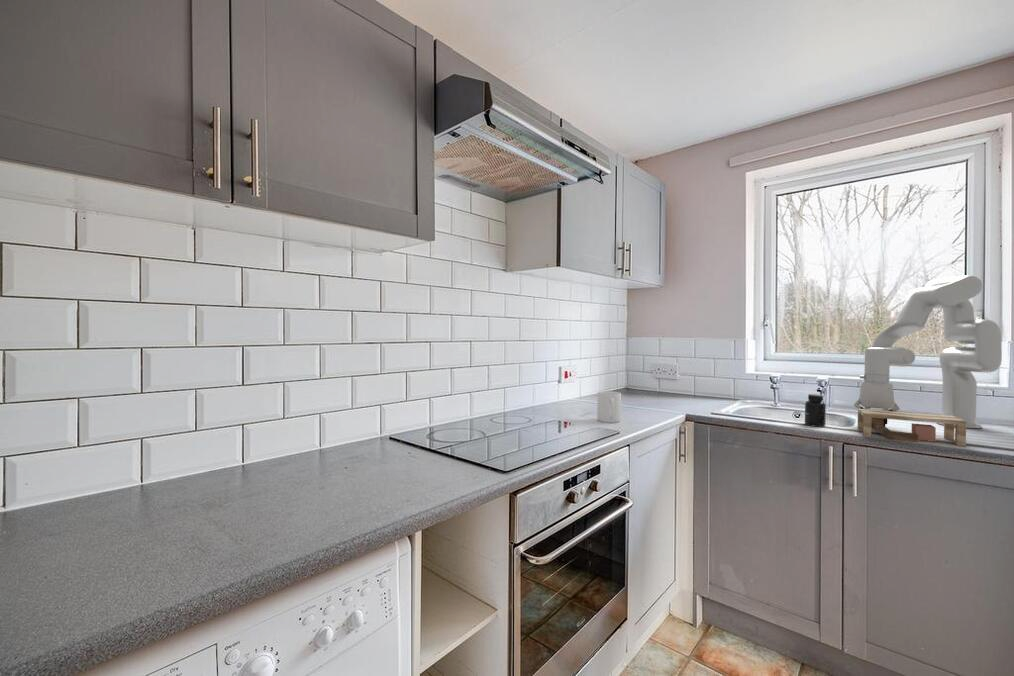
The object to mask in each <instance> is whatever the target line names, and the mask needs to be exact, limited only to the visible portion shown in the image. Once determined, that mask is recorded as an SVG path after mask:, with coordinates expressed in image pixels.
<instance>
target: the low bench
mask: <svg viewBox="0 0 1014 676" xmlns="http://www.w3.org/2000/svg"><path fill="white" fill-rule="evenodd" d="M871 417H873V418H885V419H887V420H898V421H911V422H913V421H914V422H922V423H923V422H924V423H936V424H938V423H944V425H943V430H944V431H943V438H944V439H945V438H946V439H945V440H948V439H953V440H952V441H954V445H956V446H957V447H967V428H966V421H964V420H962V419H959V418H957V417H955V416H952V415H942V414H937V413H936V414H935V413H923V412H921V413H920V412H910V411H899V410H897V411H884V410H881V409H871V408H870V409H858V408H857V431H858V432H862V436H863V437H866V438H867V437H868V438H871V437H872V427H871ZM954 424H955V427H954Z"/></svg>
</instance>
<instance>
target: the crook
mask: <svg viewBox="0 0 1014 676" xmlns="http://www.w3.org/2000/svg"><path fill="white" fill-rule="evenodd" d="M871 428H873V429H875V430H876V431H877V432H878V431H879V432H880V434H881V435H882V436H883V437H884V438H886V439H887V440H896V441H907V442H912V443H913V442H914V443H918V441H919V440H918V434H916V433H912V432H905V431H904V432H902V431H894V430H890V429H889V428H887V426H886V425H885V426H884V418H873V417H871ZM879 432H878V433H879Z"/></svg>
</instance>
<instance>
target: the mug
mask: <svg viewBox="0 0 1014 676" xmlns="http://www.w3.org/2000/svg"><path fill="white" fill-rule="evenodd" d="M596 411H597V416H596V417H597V420H598V422H600V423H607V424H616V423H617V424H618V423H620V422H621V420H622V392H619V391H613V390H612V391H611V390H603V391H601V390H600V391H597V410H596Z"/></svg>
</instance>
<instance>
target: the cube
mask: <svg viewBox="0 0 1014 676" xmlns="http://www.w3.org/2000/svg"><path fill="white" fill-rule="evenodd" d="M911 433H916V434H918V441H920V440H930V441H935V442H936V433H937V432H936V426H934V425H932V424H926V423H925V424H923V423H913V422H912V423H911ZM930 441H929V442H930Z"/></svg>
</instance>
